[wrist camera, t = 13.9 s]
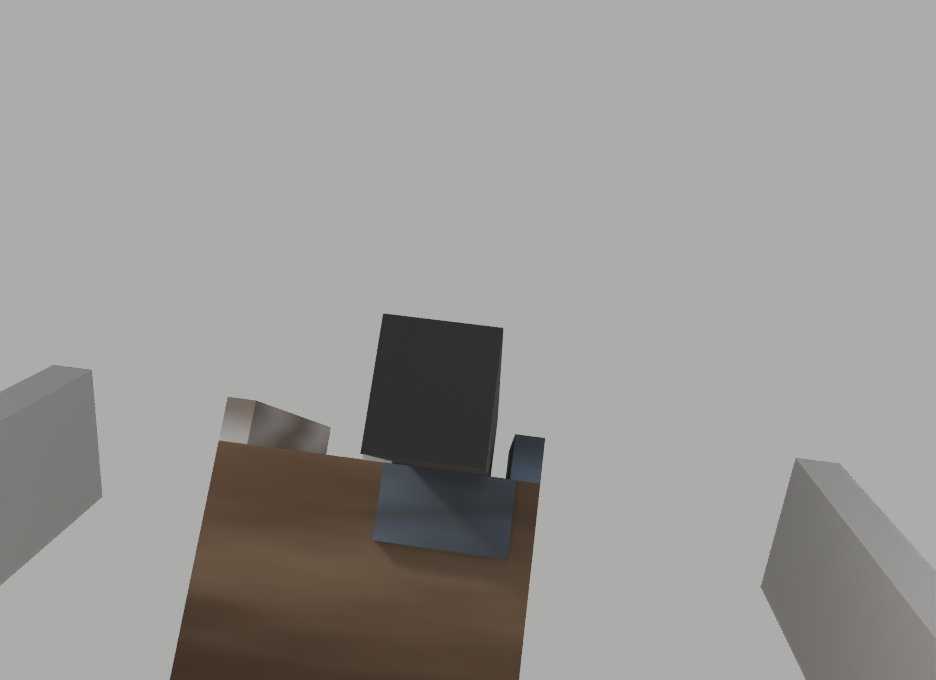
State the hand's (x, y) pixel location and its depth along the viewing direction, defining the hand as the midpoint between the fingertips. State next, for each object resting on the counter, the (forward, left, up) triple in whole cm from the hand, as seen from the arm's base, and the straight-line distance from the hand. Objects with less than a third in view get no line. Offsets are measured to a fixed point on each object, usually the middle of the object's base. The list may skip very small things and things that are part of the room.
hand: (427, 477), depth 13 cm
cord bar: (-2, +11, 0) cm, 12 cm away
